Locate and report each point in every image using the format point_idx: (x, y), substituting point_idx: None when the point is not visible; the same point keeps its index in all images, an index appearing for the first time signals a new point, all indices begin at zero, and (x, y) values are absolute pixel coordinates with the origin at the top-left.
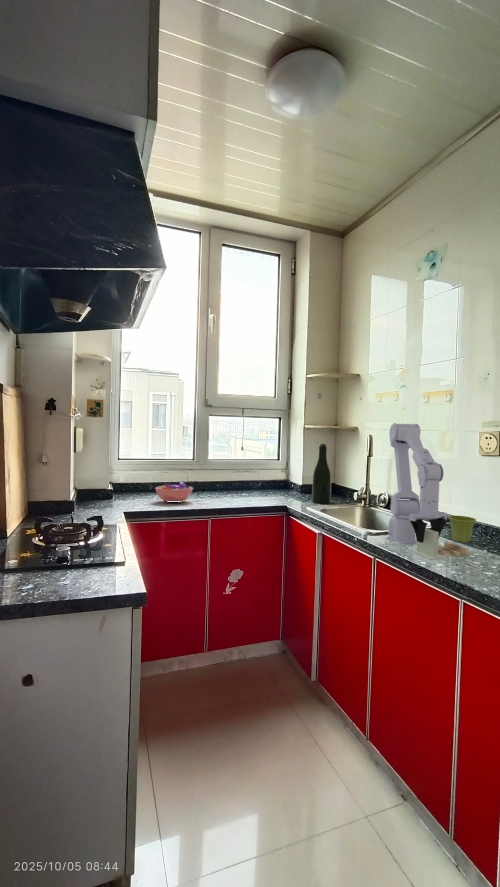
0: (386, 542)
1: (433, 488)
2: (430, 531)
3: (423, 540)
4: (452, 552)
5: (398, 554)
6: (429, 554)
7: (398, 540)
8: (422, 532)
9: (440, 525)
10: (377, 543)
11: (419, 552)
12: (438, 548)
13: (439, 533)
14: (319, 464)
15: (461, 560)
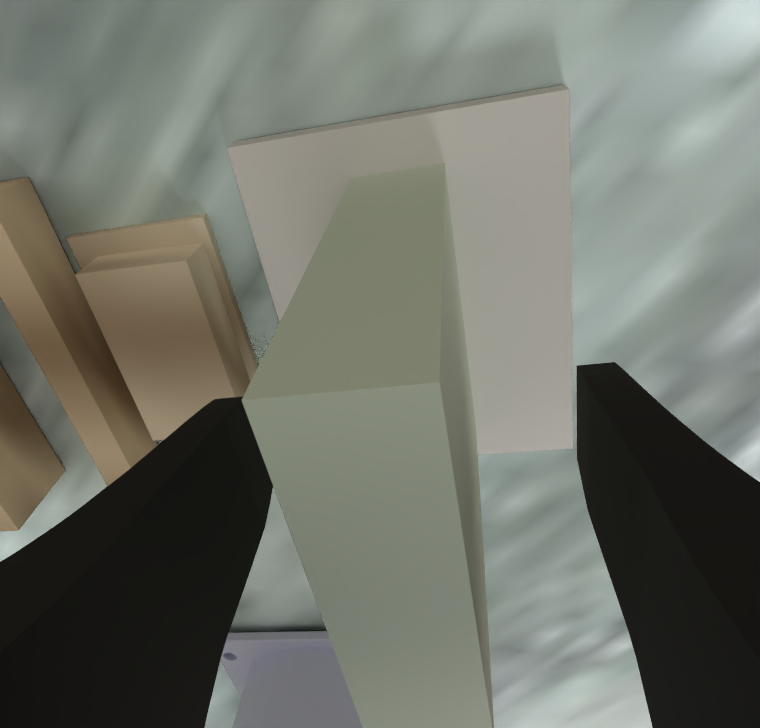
0: (529, 690)
1: None
2: (448, 496)
3: (592, 379)
4: (47, 277)
5: (757, 407)
6: (452, 237)
7: None
8: (748, 486)
9: (17, 642)
10: (640, 689)
11: (482, 378)
12: (173, 416)
13: (139, 480)
14: None
15: (30, 17)
